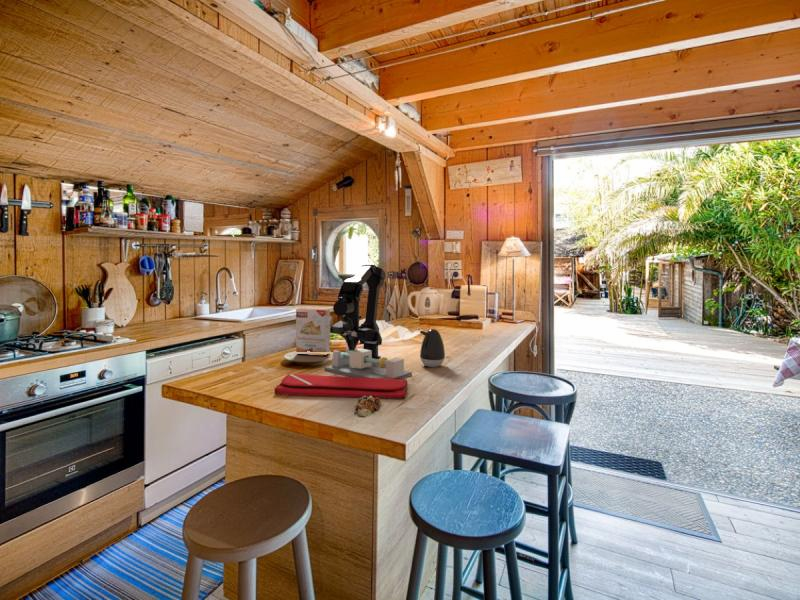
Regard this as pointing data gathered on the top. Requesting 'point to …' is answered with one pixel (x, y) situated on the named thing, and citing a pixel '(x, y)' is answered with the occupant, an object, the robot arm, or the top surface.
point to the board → (368, 368)
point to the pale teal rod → (371, 360)
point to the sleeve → (360, 358)
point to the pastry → (367, 406)
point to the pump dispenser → (432, 349)
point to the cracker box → (312, 330)
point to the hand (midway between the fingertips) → (351, 352)
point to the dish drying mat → (341, 386)
